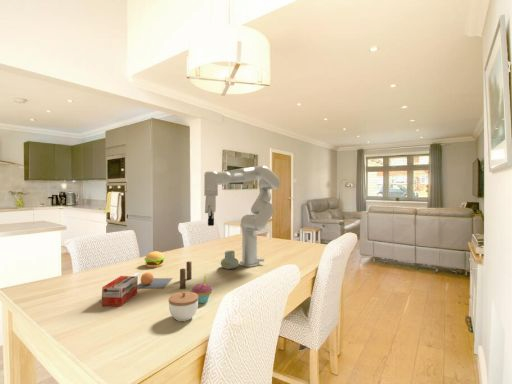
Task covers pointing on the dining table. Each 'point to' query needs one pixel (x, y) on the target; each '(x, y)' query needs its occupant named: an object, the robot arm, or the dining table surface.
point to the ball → (147, 278)
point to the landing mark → (156, 283)
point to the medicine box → (119, 291)
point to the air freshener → (229, 260)
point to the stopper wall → (137, 275)
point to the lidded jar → (183, 305)
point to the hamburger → (154, 259)
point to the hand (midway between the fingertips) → (210, 225)
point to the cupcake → (202, 291)
